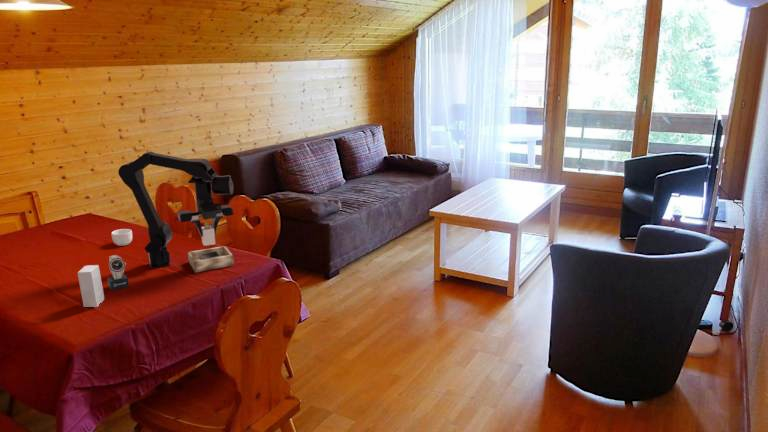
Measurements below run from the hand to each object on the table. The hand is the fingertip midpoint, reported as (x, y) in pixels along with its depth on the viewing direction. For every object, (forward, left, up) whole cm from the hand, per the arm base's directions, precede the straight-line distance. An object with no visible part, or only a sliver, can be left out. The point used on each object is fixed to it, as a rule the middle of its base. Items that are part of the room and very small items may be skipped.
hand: (208, 235), depth 207 cm
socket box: (0, 0, -11) cm, 11 cm away
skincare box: (-40, -17, -11) cm, 45 cm away
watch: (-32, -6, -11) cm, 34 cm away
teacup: (-27, +43, -11) cm, 52 cm away
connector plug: (0, 0, -3) cm, 3 cm away
